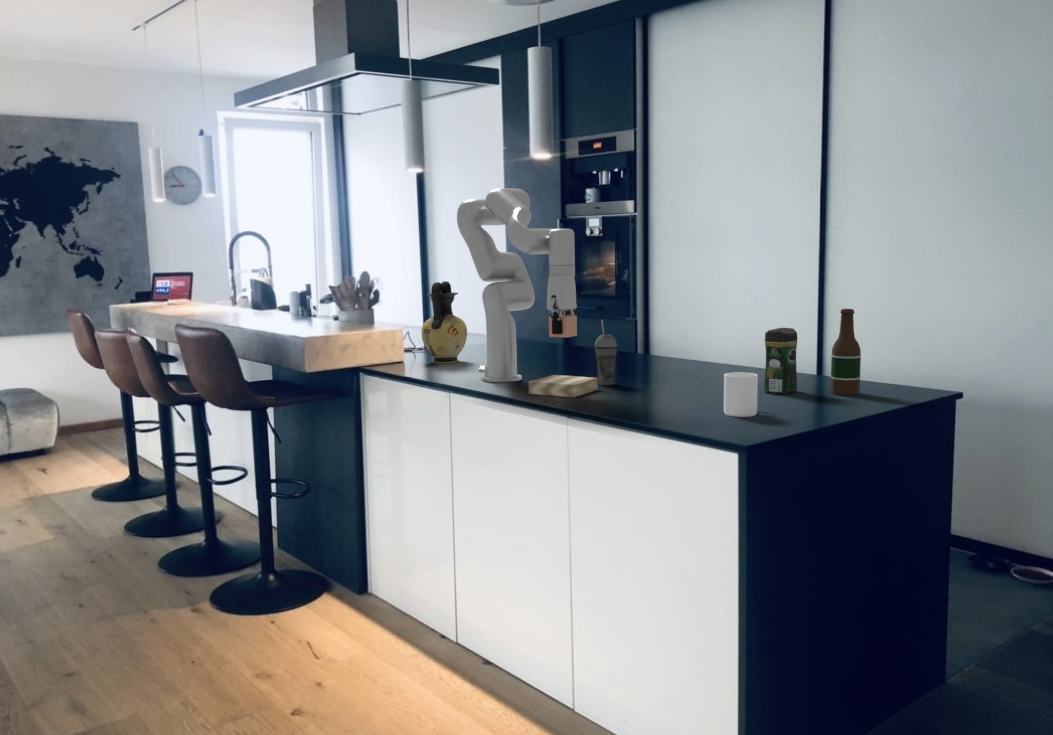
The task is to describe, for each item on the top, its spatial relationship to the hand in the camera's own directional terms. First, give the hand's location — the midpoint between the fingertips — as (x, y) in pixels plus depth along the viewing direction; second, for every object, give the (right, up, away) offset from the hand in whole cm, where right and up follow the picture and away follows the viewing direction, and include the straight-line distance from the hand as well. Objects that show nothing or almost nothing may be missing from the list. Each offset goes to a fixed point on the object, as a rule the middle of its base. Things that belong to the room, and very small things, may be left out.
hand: (563, 332), depth 272 cm
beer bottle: (+79, -18, -10) cm, 82 cm away
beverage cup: (+14, -16, +15) cm, 26 cm away
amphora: (-41, -8, +74) cm, 85 cm away
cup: (+45, -22, -35) cm, 61 cm away
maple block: (0, -18, +3) cm, 18 cm away
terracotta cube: (0, -1, 0) cm, 1 cm away
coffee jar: (+62, -18, -6) cm, 65 cm away
